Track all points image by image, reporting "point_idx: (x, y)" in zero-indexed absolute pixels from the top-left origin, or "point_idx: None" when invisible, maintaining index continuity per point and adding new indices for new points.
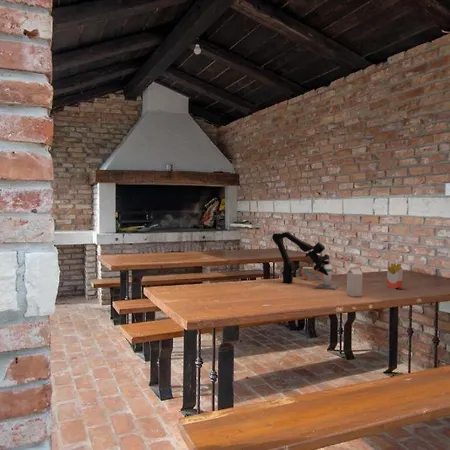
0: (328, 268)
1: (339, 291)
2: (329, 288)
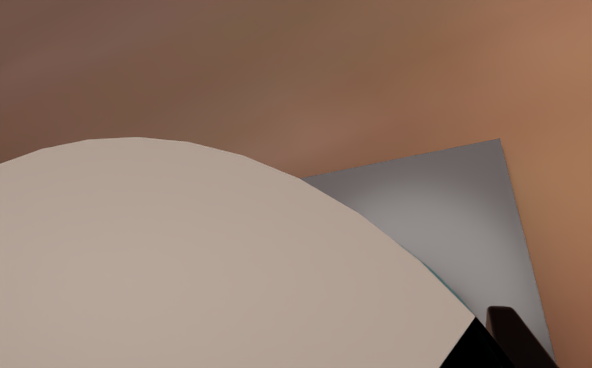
0: (487, 345)
1: (565, 44)
2: (523, 241)
